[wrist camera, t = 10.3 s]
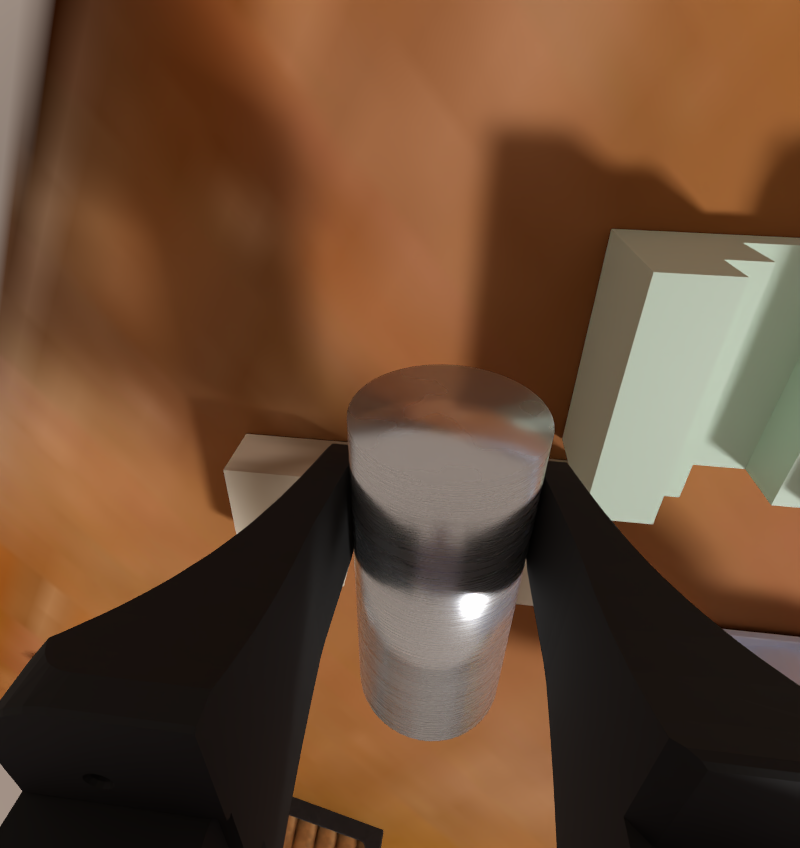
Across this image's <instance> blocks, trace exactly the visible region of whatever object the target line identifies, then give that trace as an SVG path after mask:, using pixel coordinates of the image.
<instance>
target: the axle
mask: <svg viewBox="0 0 800 848" xmlns="http://www.w3.org/2000/svg"><path fill="white" fill-rule="evenodd" d="M347 431H348V450H349V465H350V484H351V503H352V522H353V540H354V562H355V581H356V600H357V619H358V637H359V656H360V675H361V683H362V687H363V691H364V694H365V697H366V699H367V701H368V703H369V705H370V706H371V708H372V710H373V711H374V712H375V714H376V715H377V716H378V717H379V718H380V719H381V720H382V721H383V722H384V723H385V724H386V725H388V726H389V727H390V728H392V729H393V730H395V731H397V732H399V733H400V734H403V735H405V736H408V737H410V738H414V739H418V740H424V741H441V740H447V739H451V738H454V737H457V736H460V735H462V734H464V733H466V732H468V731H469V730H471V729H472V728H473V727H475V726H476V725H477V724H478V723H479V722H480V721H481V720H482V719H483V718H484V716H485V715H486V714H487V713H488V711H489V709H490V707H491V705H492V703H493V701H494V698H495V694H496V690H497V685H498V681H499V677H500V672H501V668H502V663H503V659H504V654H505V650H506V645H507V641H508V637H509V632H510V628H511V623H512V619H513V614H514V610H515V605H516V601H517V597H518V592H519V588H520V583H521V579H522V574H523V570H524V565H525V561H526V557H527V552H528V548H529V543H530V539H531V534H532V530H533V526H534V521H535V517H536V512H537V508H538V503H539V499H540V494H541V490H542V486H543V481H544V477H545V472H546V468H547V463H548V459H549V454H550V450H551V446H552V441H553V437H554V432H555V430H554V421H553V417H552V415H551V413H550V411H549V409H548V407H547V406H546V405H545V403H544V402H543V401H542V400H541V399H540V398H539V397H538V396H537V395H536V394H535V393H533V392H532V391H531V390H530V389H528V388H527V387H525V386H523V385H522V384H520V383H518V382H516V381H514V380H512V379H510V378H508V377H505V376H503V375H500V374H497V373H494V372H491V371H487V370H483V369H479V368H474V367H468V366H460V365H422V366H414V367H409V368H404V369H400V370H396V371H393V372H390V373H387V374H385V375H382V376H380V377H378V378H376V379H374V380H372V381H371V382H369V383H368V384H366V385H365V386H364V387H363V388H361V389H360V390H359V391H358V392H357V393H356V395H355V396H354V397H353V399H352V401H351V402H350V404H349V408H348V411H347Z"/></svg>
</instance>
